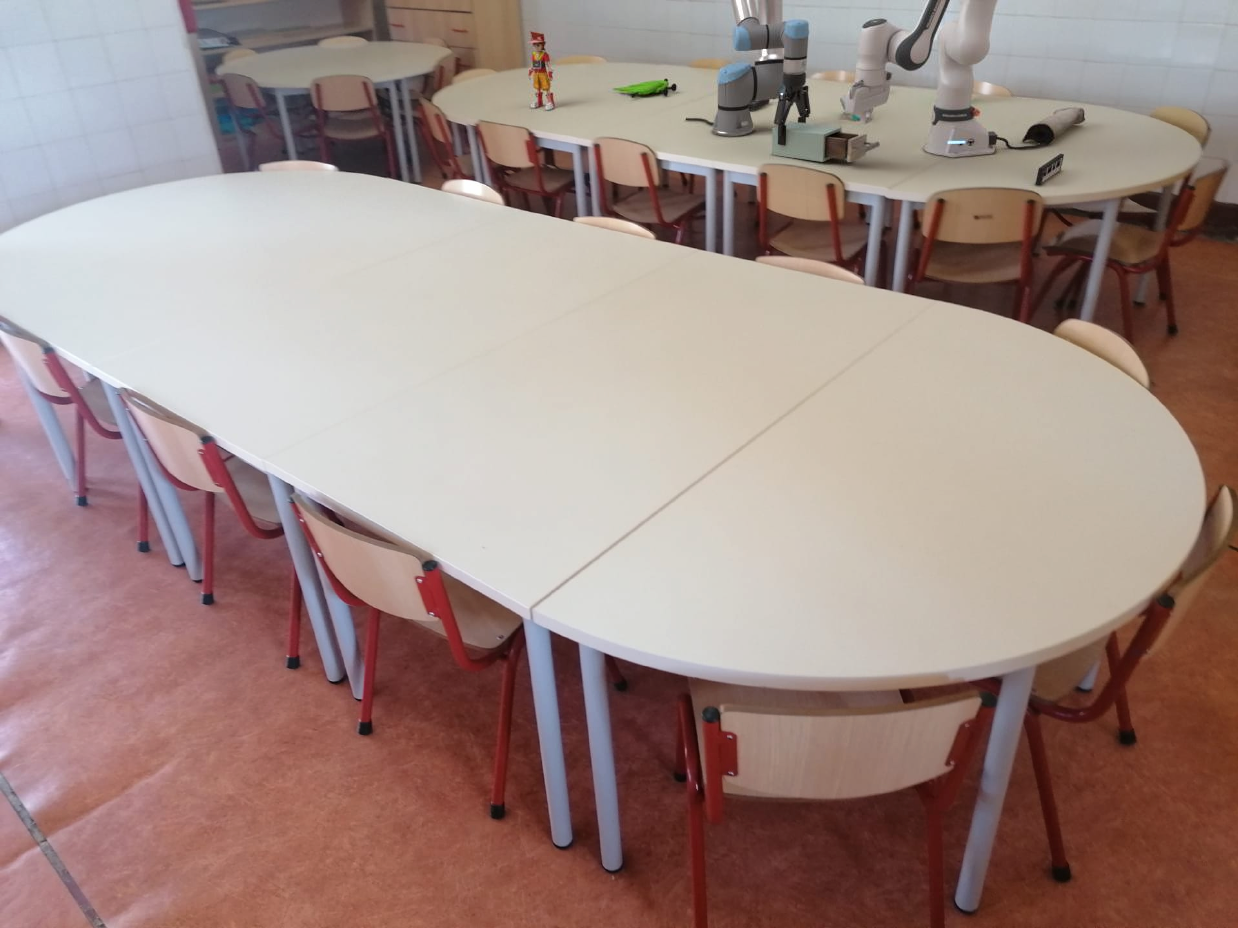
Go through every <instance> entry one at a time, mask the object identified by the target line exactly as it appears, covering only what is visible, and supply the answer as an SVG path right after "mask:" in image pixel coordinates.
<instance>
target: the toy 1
mask: <svg viewBox="0 0 1238 928" xmlns="http://www.w3.org/2000/svg"><path fill="white" fill-rule="evenodd" d="M529 33H530V35H531V36H528V37H527V38H528V39H529V40H528V41H527V43H529V44H530V43H531V44H532V48H533V50H534V51H533V52H532V55H531V58H530V59H531V63H530V66H528V74H527V75H528V76H527V77H528V79H529V80H531V75H532V74H533V84H532V85H533V86H532V87H533V88H534V89H535V90H536V92H534V95H535V97H536V100H535V101H533V102H531V105H530V108H531V109H535V108H538V107H542V106H544V101H543V100H544V99H543V95H544V92H546V94H545V97H546V99H547V103H546V104H545V106H544V110H546V111H549V110H553V109H554V107H555V106H556V105H555V99H554V92H551V91H550V90H551V86H552V84H551V82H552V81H553V80H554V77H553V73H554V71H555V70H554V69H552V68H551V63H550V61H551V59H550V58H551V57H550V54H549V53H548V52H547V50H546V48H545V46H546V44H547V41H545V35H544V33H543V32H542V33H539V32H535V31H529Z"/></svg>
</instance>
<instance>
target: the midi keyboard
mask: <svg viewBox="0 0 1238 928" xmlns="http://www.w3.org/2000/svg"><path fill="white" fill-rule="evenodd" d="M1064 157H1065V153H1059V154H1058V155H1056V156H1055V157H1052V159H1051V160H1049V161H1047V162H1045V164H1042V165H1041V166H1039V167H1038V169H1037V175H1036V179H1035V186H1040V185H1042V183H1044V182H1045V181H1047V180H1048V179H1049V178H1051V177H1052V176H1054V175H1055V174H1056V173H1058V172H1060V171H1061V170H1062V165H1063V161H1064Z"/></svg>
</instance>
